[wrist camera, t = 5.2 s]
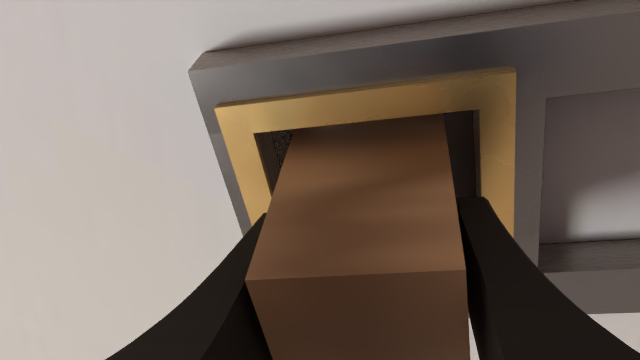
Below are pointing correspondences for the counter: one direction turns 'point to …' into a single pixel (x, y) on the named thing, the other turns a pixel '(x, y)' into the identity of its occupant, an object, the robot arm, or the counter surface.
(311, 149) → the brown wooden block
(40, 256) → the counter surface
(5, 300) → the counter surface
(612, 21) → the grey slotted tray
